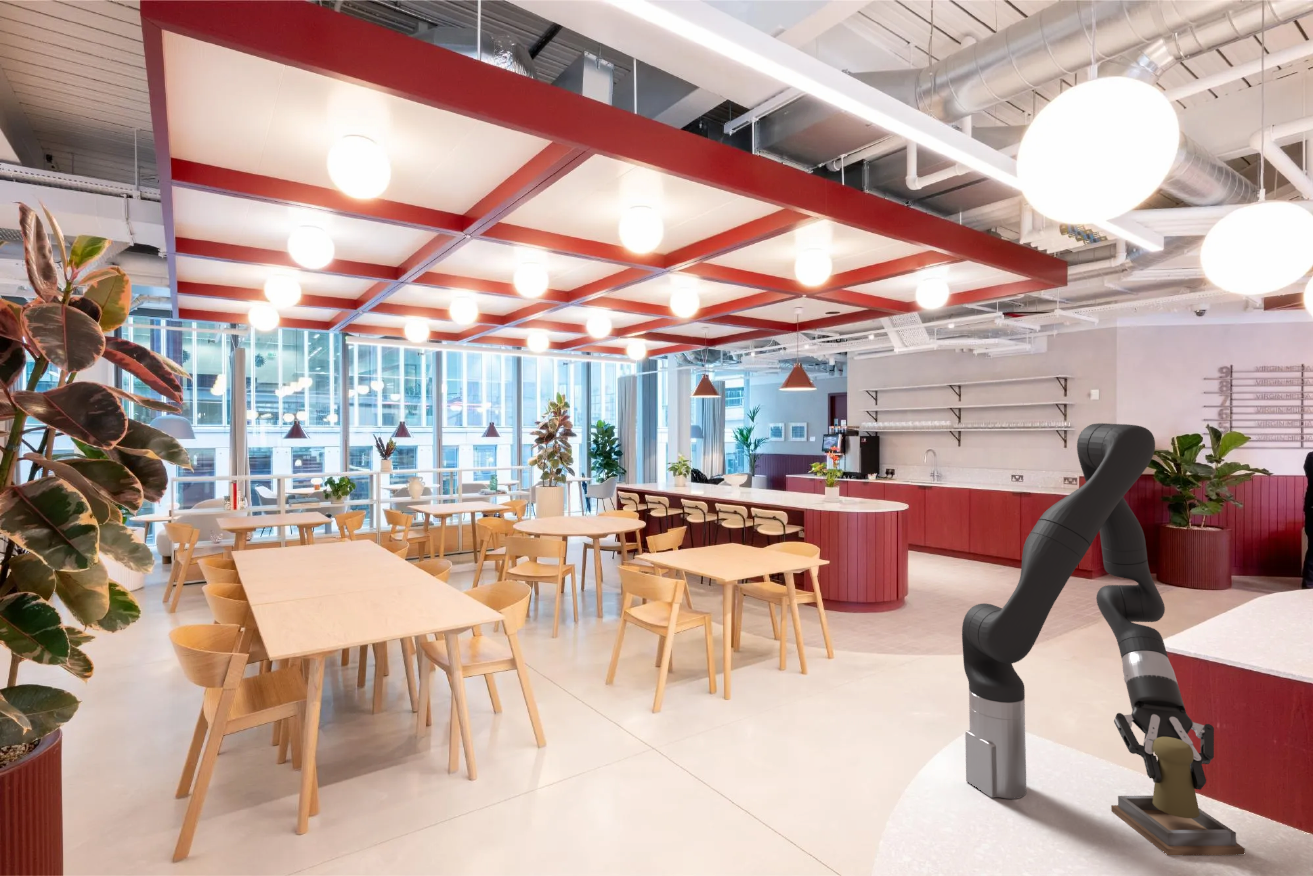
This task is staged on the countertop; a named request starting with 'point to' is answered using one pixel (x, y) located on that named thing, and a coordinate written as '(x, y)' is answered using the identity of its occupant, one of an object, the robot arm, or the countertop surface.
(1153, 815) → the plate
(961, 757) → the countertop surface
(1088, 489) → the robot arm
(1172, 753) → the cork
